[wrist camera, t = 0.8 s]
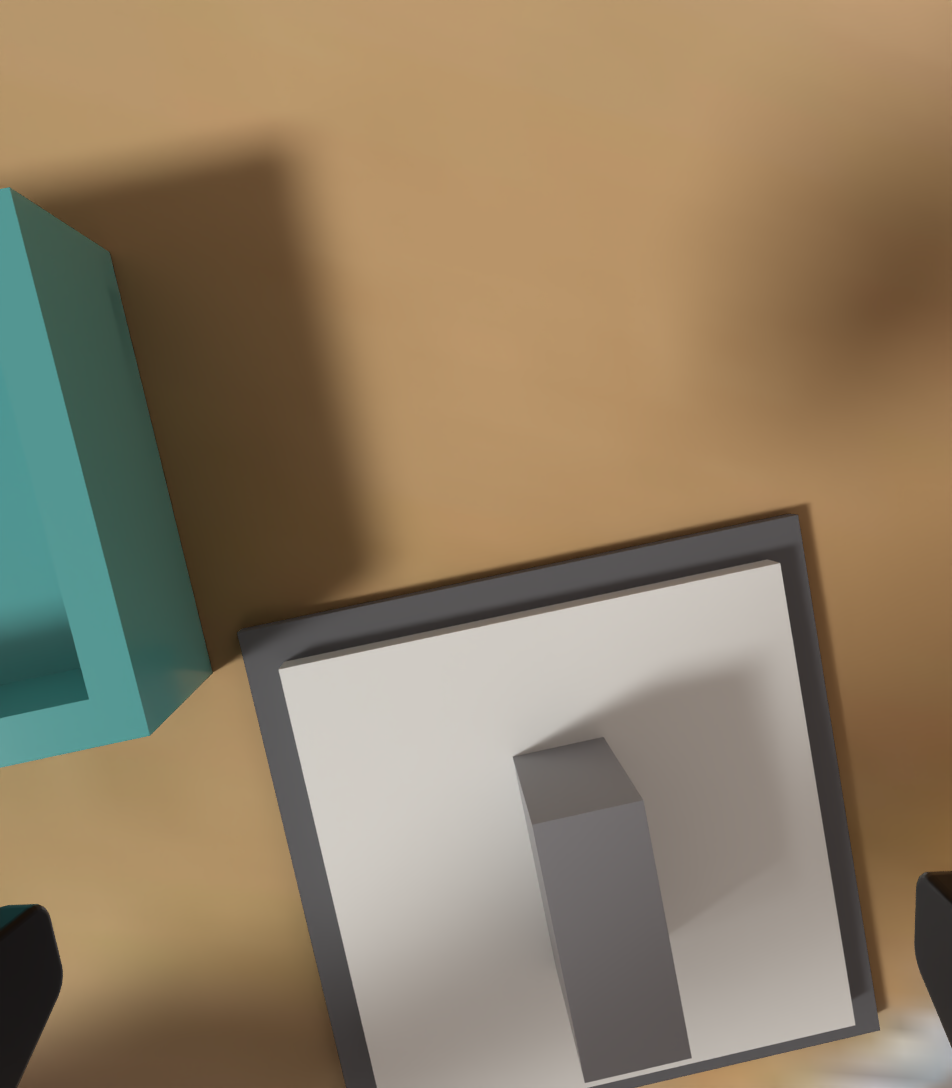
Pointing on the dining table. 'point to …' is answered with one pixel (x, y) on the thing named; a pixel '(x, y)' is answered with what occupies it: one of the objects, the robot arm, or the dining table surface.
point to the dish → (81, 509)
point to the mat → (512, 595)
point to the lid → (576, 837)
